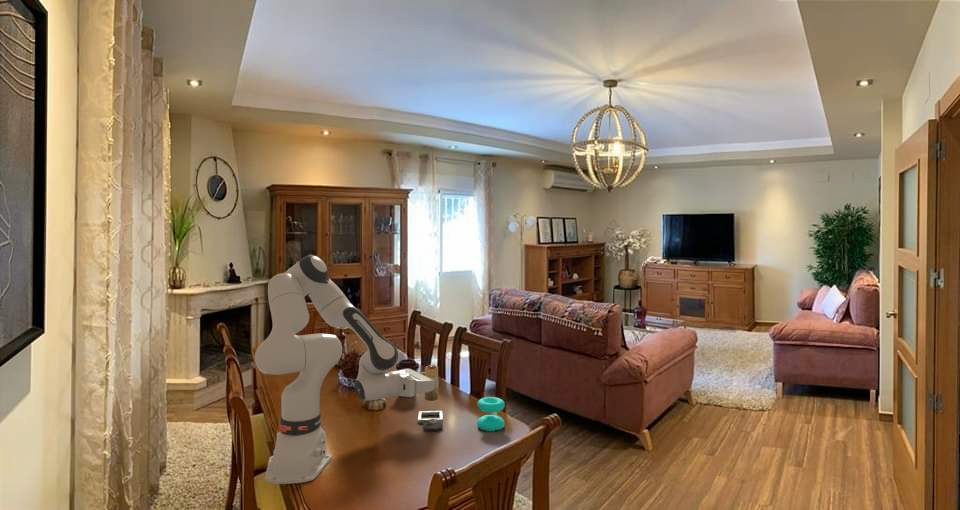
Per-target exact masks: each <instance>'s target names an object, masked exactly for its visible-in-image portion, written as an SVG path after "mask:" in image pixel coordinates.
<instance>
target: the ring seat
mask: <svg viewBox="0 0 960 510" xmlns="http://www.w3.org/2000/svg"><path fill="white" fill-rule="evenodd" d="M428 415H434V416H439V418H436V419H439V420H441V421H443V420H444V419H443V410H428V411H427V410H425V411H423V410H422V411H421V410H420V411H419V410H418V416H417V422H418V425H419V423H421V424H422V423H424V421H426V420H429V419H428V418H422V417H426V416H427V417H428ZM443 422H444V421H443Z"/></svg>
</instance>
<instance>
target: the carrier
mask: <svg viewBox="0 0 960 510" xmlns="http://www.w3.org/2000/svg"><path fill="white" fill-rule="evenodd" d="M427 419H429V420H426V421H424V423H423V427H422V429H423V430H424V431H426V432H432V433H433V432H435V431H436V432H439V431H441V429H442V428H444V421H441V420H439V419H437V418H435V417H430V418H428V417H427ZM442 430H443V429H442Z"/></svg>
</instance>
